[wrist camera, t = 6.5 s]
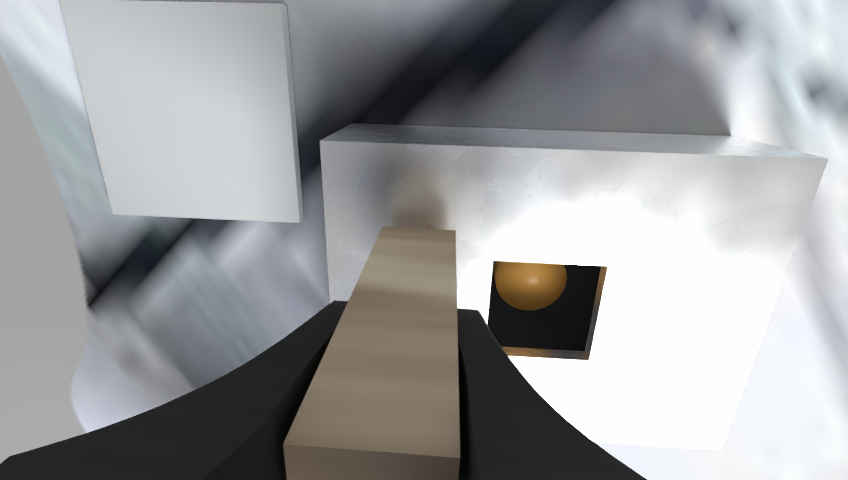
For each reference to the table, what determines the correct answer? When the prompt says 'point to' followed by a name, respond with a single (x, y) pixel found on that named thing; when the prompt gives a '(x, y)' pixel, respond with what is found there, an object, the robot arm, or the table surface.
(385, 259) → the long tan rectangular block
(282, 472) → the robot arm
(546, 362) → the guard box
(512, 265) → the button
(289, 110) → the pad
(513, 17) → the table surface
